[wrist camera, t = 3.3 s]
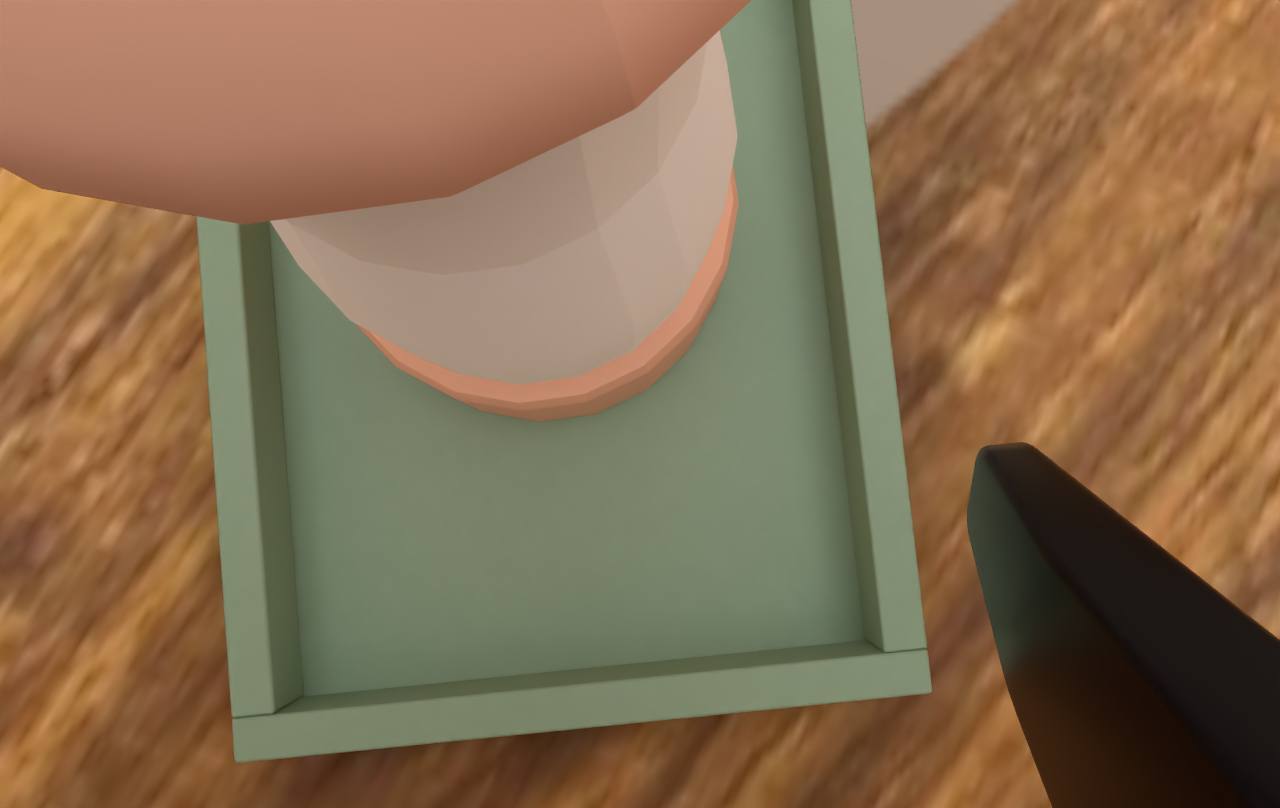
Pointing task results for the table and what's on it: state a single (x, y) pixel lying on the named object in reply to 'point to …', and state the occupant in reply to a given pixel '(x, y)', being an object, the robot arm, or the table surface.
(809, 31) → the tray
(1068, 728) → the robot arm
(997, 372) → the table surface
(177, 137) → the pepper shaker
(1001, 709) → the table surface
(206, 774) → the table surface
